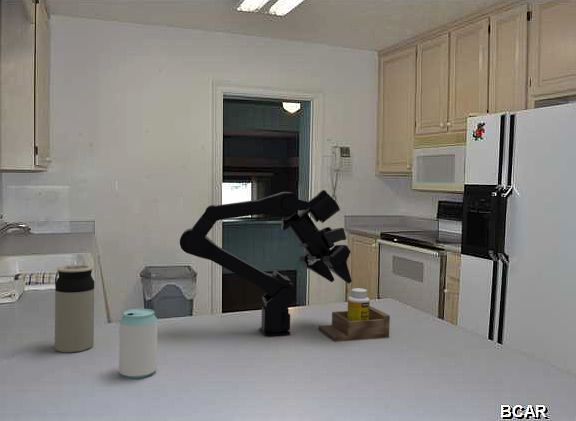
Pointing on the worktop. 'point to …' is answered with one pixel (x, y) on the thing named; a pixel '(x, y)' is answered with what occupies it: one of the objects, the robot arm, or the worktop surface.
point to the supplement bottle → (358, 305)
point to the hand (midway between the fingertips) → (341, 281)
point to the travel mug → (74, 308)
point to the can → (138, 343)
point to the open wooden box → (357, 326)
